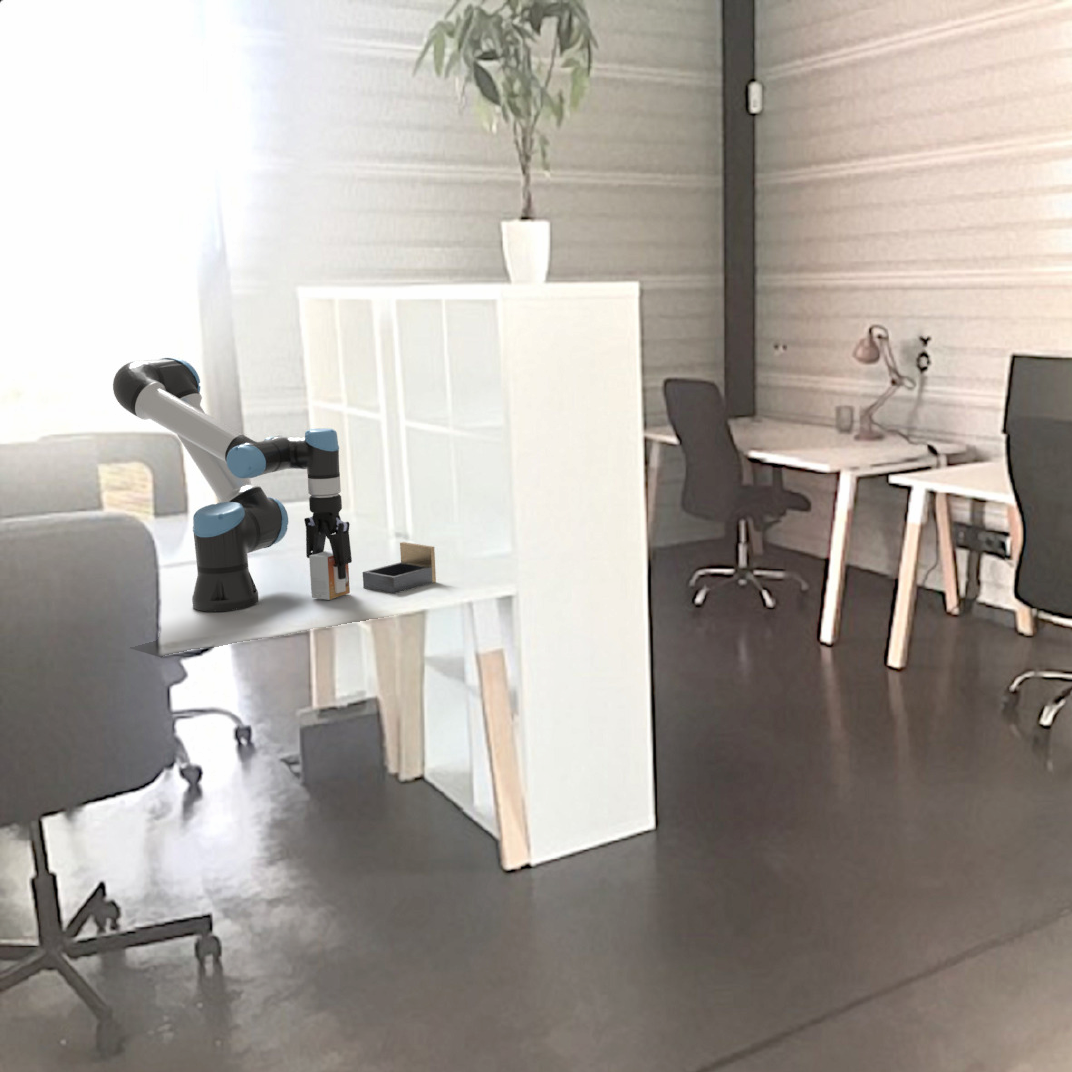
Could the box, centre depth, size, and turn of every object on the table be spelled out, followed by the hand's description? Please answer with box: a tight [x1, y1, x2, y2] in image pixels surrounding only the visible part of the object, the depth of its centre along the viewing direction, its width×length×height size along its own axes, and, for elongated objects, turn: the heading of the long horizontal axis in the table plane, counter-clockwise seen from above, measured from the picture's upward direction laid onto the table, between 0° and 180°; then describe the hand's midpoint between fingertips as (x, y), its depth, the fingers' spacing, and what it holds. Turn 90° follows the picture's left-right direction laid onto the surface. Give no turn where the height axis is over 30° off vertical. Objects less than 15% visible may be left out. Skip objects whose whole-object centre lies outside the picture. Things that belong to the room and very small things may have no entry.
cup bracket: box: [362, 541, 437, 595], centre depth 292 cm, size 11×14×9 cm
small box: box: [308, 548, 351, 601], centre depth 282 cm, size 8×6×10 cm
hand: (330, 589), depth 283 cm, fingers closed on small box, 6 cm apart
